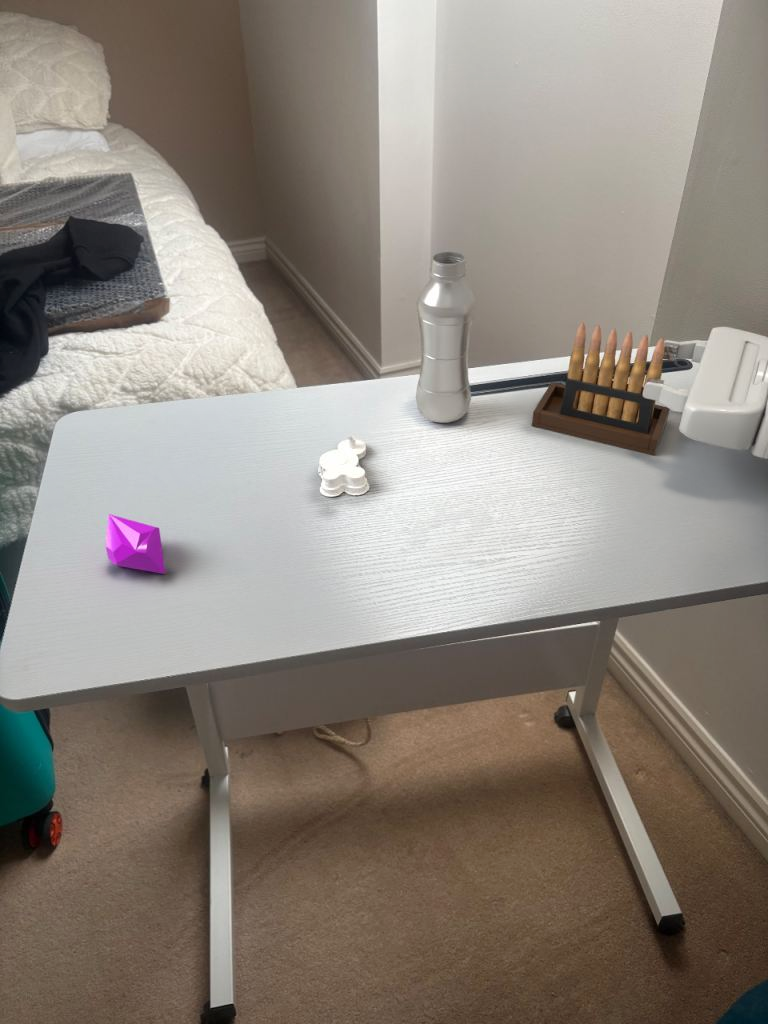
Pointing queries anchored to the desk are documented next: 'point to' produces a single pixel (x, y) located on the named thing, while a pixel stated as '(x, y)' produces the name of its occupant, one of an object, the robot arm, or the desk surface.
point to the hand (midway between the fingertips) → (653, 367)
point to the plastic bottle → (445, 340)
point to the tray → (596, 424)
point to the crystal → (134, 545)
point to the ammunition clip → (611, 382)
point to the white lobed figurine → (343, 469)
